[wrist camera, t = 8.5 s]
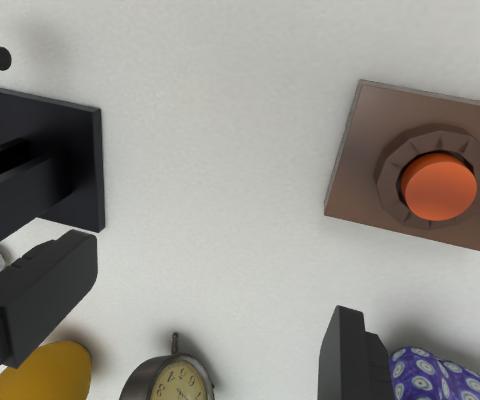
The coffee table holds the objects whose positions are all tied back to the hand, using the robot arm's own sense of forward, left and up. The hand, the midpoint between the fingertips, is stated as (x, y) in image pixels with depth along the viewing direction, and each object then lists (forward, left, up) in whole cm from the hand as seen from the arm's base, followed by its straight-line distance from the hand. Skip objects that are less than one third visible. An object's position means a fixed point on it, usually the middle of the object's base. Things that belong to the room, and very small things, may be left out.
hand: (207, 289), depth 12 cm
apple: (+33, -20, -19) cm, 43 cm away
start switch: (0, +11, -19) cm, 22 cm away
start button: (0, +11, -15) cm, 19 cm away
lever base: (+7, -20, -19) cm, 29 cm away
